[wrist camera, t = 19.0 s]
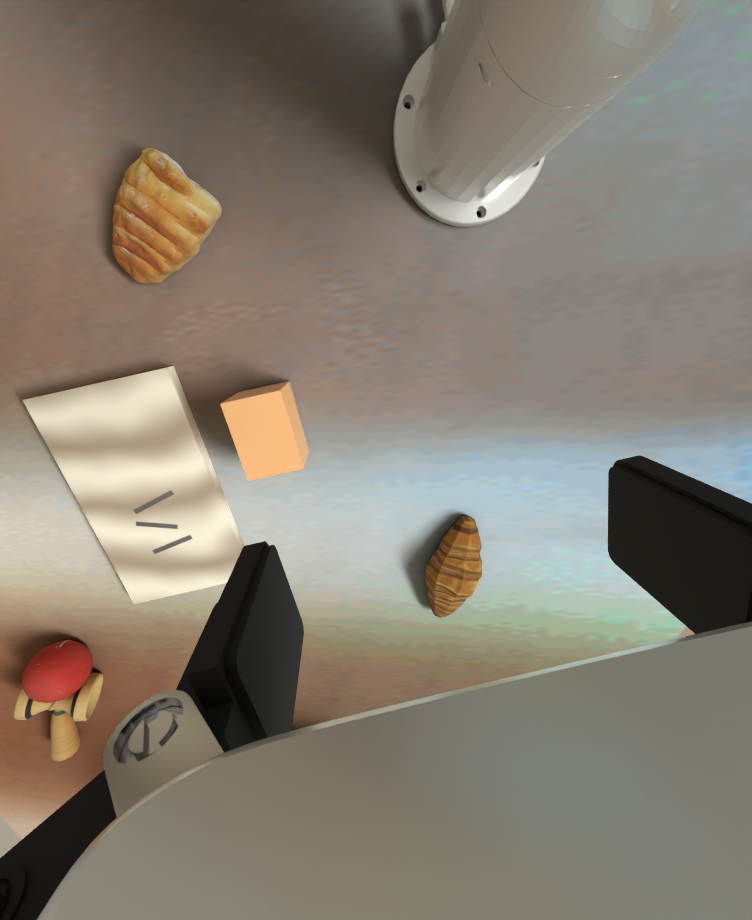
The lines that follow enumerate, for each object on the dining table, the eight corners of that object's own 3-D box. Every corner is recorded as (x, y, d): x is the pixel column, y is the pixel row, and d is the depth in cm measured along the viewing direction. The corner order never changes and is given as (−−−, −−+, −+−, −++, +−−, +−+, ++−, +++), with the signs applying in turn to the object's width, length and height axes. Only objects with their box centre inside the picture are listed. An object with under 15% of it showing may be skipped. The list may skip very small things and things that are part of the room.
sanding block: (239, 391, 36) (220, 403, 30) (290, 380, 36) (280, 390, 30) (261, 458, 38) (247, 481, 33) (309, 447, 39) (303, 468, 33)
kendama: (117, 728, 51) (113, 641, 43) (78, 783, 45) (64, 695, 37) (62, 710, 51) (48, 621, 43) (16, 764, 45) (-10, 672, 37)
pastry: (175, 304, 33) (155, 301, 30) (101, 251, 31) (69, 241, 28) (231, 207, 31) (216, 191, 28) (154, 144, 29) (127, 119, 26)
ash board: (35, 397, 35) (22, 400, 33) (173, 365, 35) (166, 367, 33) (140, 594, 43) (133, 604, 41) (253, 569, 43) (250, 577, 41)
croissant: (435, 507, 42) (447, 529, 38) (491, 515, 43) (509, 538, 39) (408, 604, 47) (416, 635, 42) (460, 609, 48) (473, 640, 43)
